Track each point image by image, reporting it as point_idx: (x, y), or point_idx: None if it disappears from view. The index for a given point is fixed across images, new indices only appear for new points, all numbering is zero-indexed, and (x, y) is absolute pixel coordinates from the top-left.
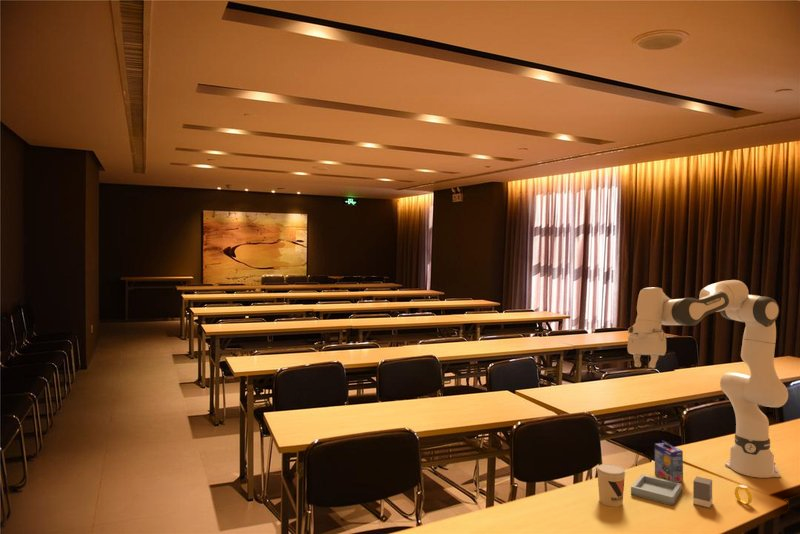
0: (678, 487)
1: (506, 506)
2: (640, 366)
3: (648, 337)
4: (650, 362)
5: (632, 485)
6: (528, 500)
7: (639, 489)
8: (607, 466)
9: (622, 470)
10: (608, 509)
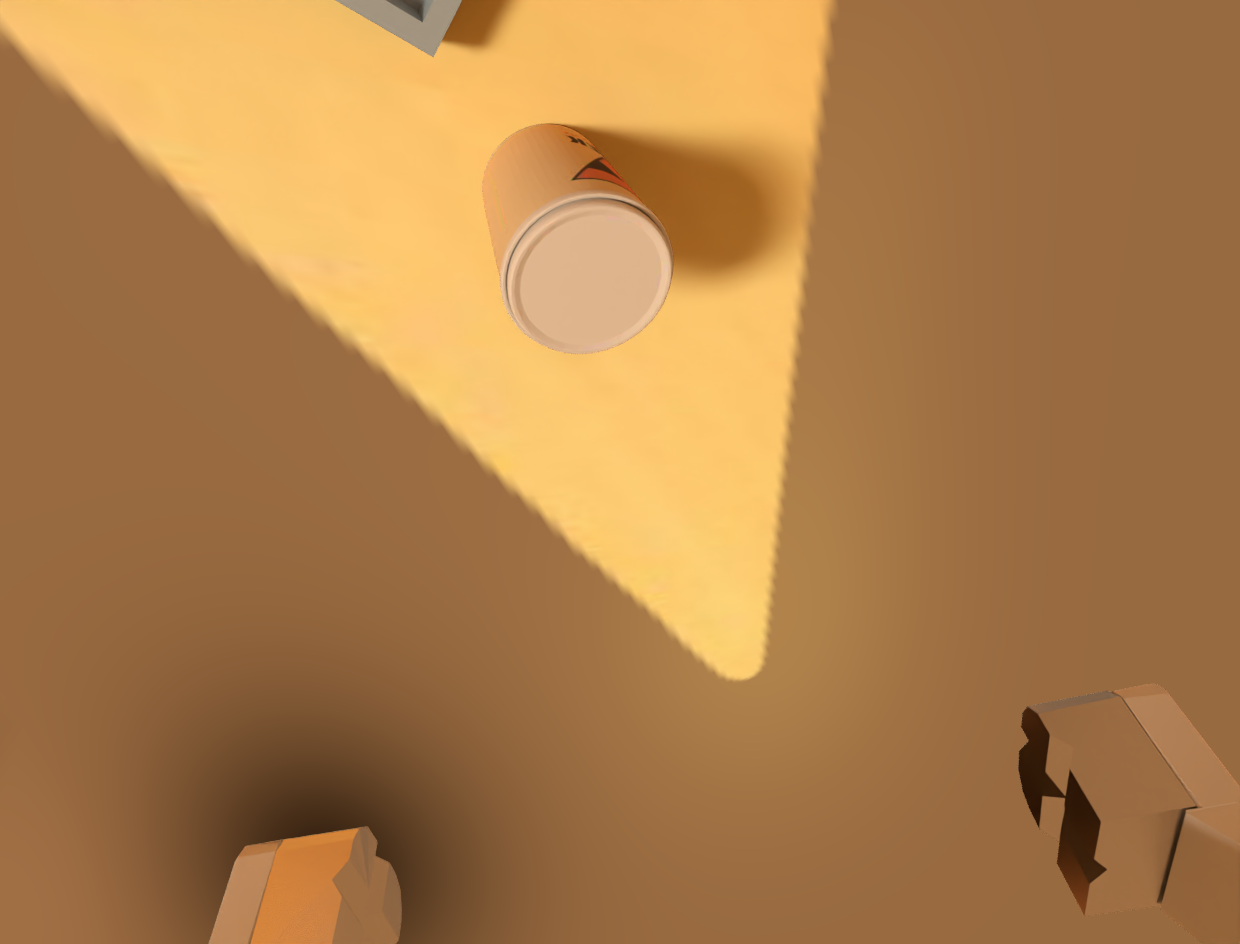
0: None
1: (626, 571)
2: (358, 831)
3: None
4: (1182, 890)
5: (408, 39)
6: (569, 516)
7: (460, 1)
8: (549, 297)
9: (612, 215)
10: None
